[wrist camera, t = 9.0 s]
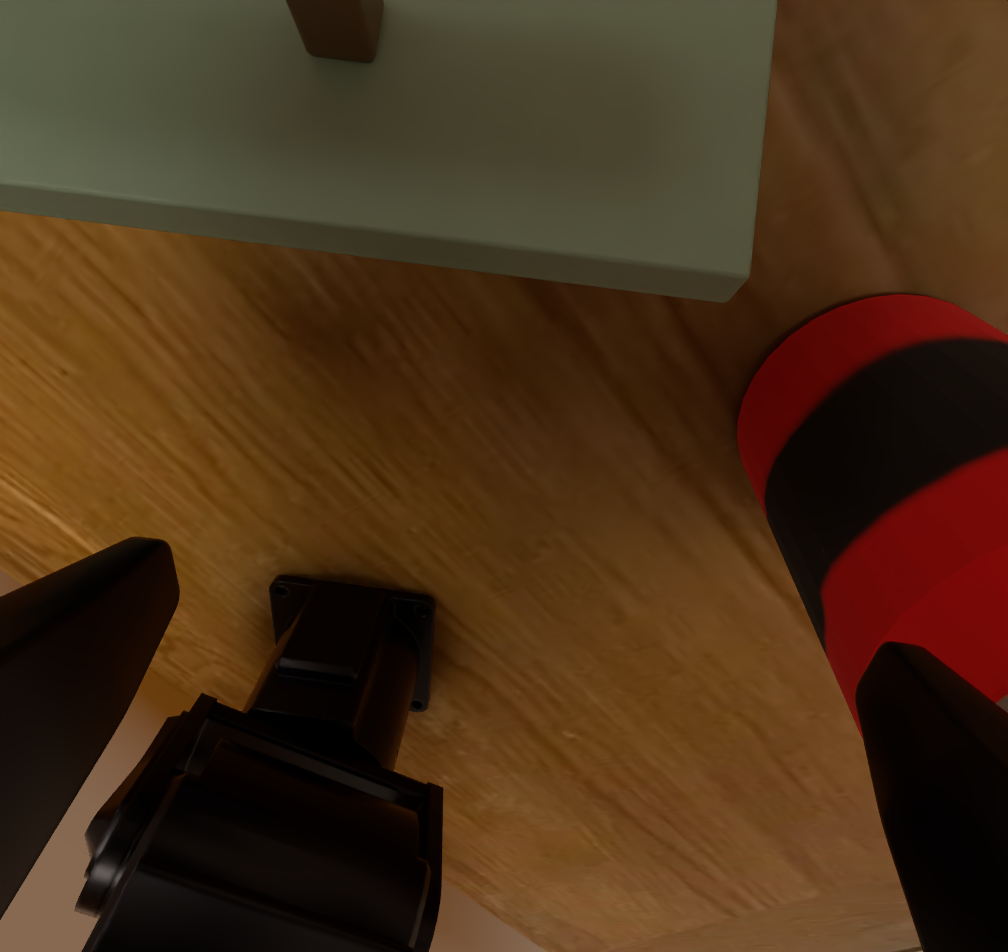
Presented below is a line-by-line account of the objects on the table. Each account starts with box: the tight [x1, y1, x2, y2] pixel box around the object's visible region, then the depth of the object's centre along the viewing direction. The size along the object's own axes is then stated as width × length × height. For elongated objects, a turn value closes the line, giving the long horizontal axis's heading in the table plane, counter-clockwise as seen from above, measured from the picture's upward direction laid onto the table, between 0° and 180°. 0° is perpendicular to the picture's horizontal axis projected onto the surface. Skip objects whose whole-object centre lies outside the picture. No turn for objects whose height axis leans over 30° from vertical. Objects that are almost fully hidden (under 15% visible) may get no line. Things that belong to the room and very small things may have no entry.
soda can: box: [737, 294, 1008, 738], centre depth 15 cm, size 8×8×12 cm
